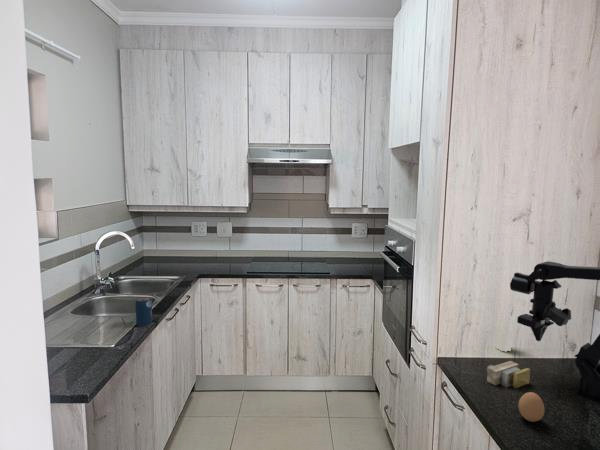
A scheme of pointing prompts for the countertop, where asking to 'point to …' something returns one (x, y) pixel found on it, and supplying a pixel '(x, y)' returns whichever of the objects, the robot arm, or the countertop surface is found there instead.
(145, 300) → the soda can
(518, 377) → the block
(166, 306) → the countertop surface
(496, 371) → the block
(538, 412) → the egg
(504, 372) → the grey block with shaft
